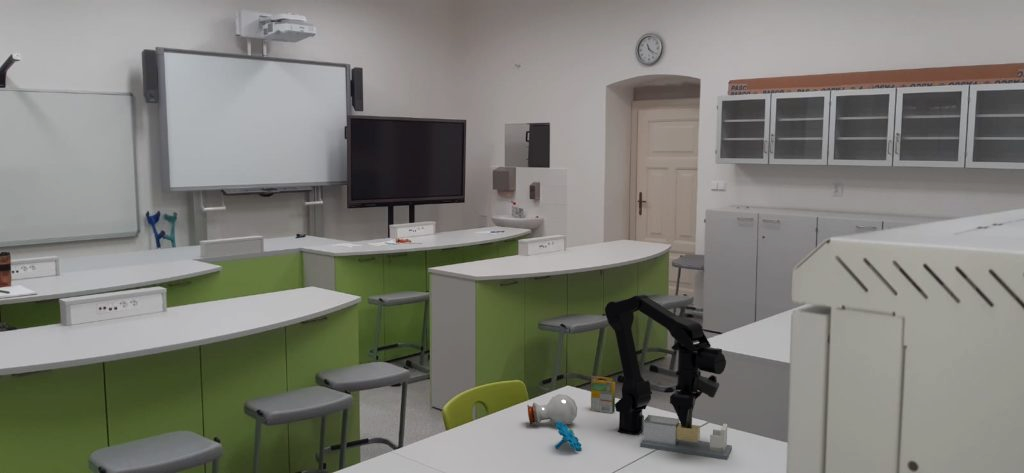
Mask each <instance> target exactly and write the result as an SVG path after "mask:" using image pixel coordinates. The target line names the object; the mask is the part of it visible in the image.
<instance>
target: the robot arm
mask: <svg viewBox="0 0 1024 473" xmlns="http://www.w3.org/2000/svg"><path fill="white" fill-rule="evenodd" d="M638 311H639V312H640V313H642V314H644V315H645V316H647V317H648V318H649V319H652V320H653V321H654V322H656V323H657V324H659V325H661V326H662V327H664V328H665V329H666V330H667V331H668V332H669V334H670V335H671V337H672V338H673V339H674V340H675V341H676V342H675V343H674V345H672V346H670V347H671V350H674V351H677V370H676V371H675V376H677V382H676V383H677V384H676V385H675V391H674V392H672V393H671V395H670V396H669V404H671V406H672V407H673V409H674V411H675V413H676V415H677V419H679V423H681V425H682V426H686V423H687V418H688V413H689V409H690V408H692V413H693V412H694V408H695V405H696V400H697V399H698V398H699V397H700V396H701V395H702V394H705V395H706V396H708V397H709V398H712V399H713V398H715V396H716V394H717V392H718V389H719V388H720V383H719V382H718V378H717V376H715V375H721V374H723V373H724V371H725V369H726V365H727V360H726V357H725V355H724V354H723V349H722V348H718V347H717V348H715V347H712V346H711V343H710V341H709V339H708V338H707V336H706V335H705V332H704V329H703V326H702V324H700V323H699V322H698V321H695V320H692V319H690V318H687V317H682V316H679V315H677V314H675V313H674V312H672V311H670V310H669V309H667V308H666V307H664V306H662V305H661V304H659V303H658V302H656V301H654V300H653V299H651V298H650V297H649V296H648V295H646V294H637V295H633V296H632V297H629V298H627V299H623V298H622V299H618V300H614V301H613V300H612V301H609V302H608V303H607V304H606V305H605V307H604V313H605V317H606V319H607V323H608V325H609V326H610V327H611V328H612V330H613V331H614V334H615V338H616V342H617V348H618V354H619V358H620V364H621V368H622V373H623V378H624V379H623V383H622V387H621V398H620V399H619V400H617V402H615V411H616V412H618V413H619V417H618V418H619V420H618V421H619V423H618V429H617V432H618V433H624V434H632V435H640V433H641V432H642V431H644V420H645V416H644V415H643V410H646V409H647V406H648V404H650V401H651V400H652V395H653V392H652V390H651V383H650V381H649V380H644V379H645V378H643V377H642V375H641V371H640V365H639V361H638V355H637V350H636V346H635V342H634V335H633V330H632V327H633V323H634V320H635V316H634V313H635V312H638ZM702 372H705V373H706V372H707V373H710V374H711V375H710V376H708V377H707V376H704V375H703V376H702ZM714 374H715V375H714Z"/></svg>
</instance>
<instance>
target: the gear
mask: <svg viewBox="0 0 1024 473" xmlns="http://www.w3.org/2000/svg"><path fill="white" fill-rule="evenodd" d="M554 425H555V429H556V430H558V434H559V435H560V436H562V438H561V439H560V441H558V443H556V445H555V446H554V448H555V449H559V448H560V447H561V446H563V444H565V443H567V442H568V443H569V444H568V445H569V447H570V448H572V449H574V451H576V452H580V451H581V450H582V443H580V442H579V441H580V440H579V437H577V436H575V433H574V430H573V428H570V429H569V427H568V425H564V426H563V423H562V422H561V421H560V422H556V423H554Z"/></svg>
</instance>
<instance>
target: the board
mask: <svg viewBox="0 0 1024 473" xmlns="http://www.w3.org/2000/svg"><path fill="white" fill-rule="evenodd" d="M639 444H640V445H639V448H645V449H653V450H660V451H667V452H673V453H681V454H687V455H692V456H693V455H694V456H699V457H700V456H701V457H707V458H714V459H721V460H726V461H727V460H729V457H730V454H731V452H732V449H733V446H732V445H731V444H727V447H726V449H725V452H724V453H717V452H710V441H703V440H699V441H698V442H692V441H685V440H679V441H678V442H677V444H676V446H670V445H664V444H657V443H650V442H644V438H643V439H642V441H641V442H640V443H639Z"/></svg>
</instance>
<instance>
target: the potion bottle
mask: <svg viewBox="0 0 1024 473" xmlns="http://www.w3.org/2000/svg"><path fill="white" fill-rule="evenodd" d="M576 403H577V402H576V401H575V400H574V399H573V398H572V397H571V396H569V395H568V394H562V393H561V394H560V393H559V394H555V396H552V397H551V399H549V402H548V403H547V404H544V405H542V404H541V405H539V404H538V403H536V402H533V403H532V405H531V406H530V405H529V404H527V416H528V420H529V425H530V426H531V425H533V423H534V424H535V425H536V424H537V425H536V426H538V425H539V424H540V423H541V422H542V421H546V420H549V421H551V422H552V423H554V424H555V423H556V422H560V421H561V422H562V423H563V426H564V425H566V426H568V425H569V424H572V423H573V422H574V420H575V419H576V418H577V416H578V406H577V404H576Z"/></svg>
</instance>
